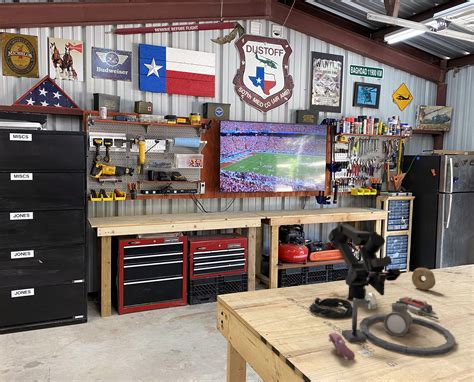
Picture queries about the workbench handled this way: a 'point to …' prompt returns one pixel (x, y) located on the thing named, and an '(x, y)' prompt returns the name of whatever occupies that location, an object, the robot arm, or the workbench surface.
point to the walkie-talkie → (417, 306)
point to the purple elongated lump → (341, 345)
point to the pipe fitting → (398, 320)
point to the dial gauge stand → (355, 334)
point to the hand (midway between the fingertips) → (382, 295)
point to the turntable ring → (405, 349)
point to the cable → (331, 303)
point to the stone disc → (419, 282)
